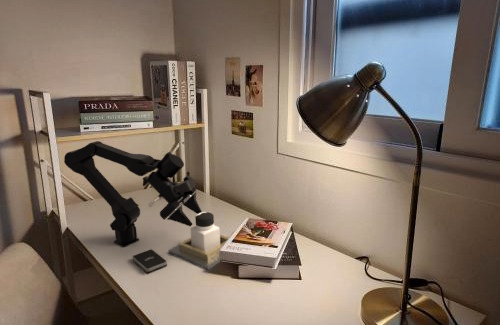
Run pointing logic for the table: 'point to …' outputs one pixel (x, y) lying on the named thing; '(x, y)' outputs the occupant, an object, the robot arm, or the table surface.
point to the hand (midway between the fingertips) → (196, 219)
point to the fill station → (198, 253)
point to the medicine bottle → (205, 232)
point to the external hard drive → (149, 261)
